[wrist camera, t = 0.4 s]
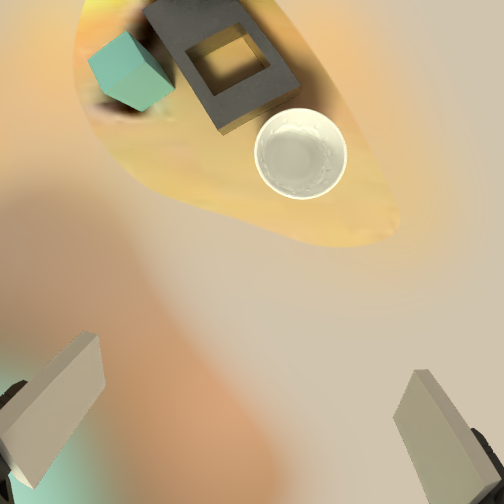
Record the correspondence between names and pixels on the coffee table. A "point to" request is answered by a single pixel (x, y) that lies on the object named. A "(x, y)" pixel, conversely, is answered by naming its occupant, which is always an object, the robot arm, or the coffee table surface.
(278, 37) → the coffee table surface
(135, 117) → the coffee table surface
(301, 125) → the white cup
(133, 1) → the coffee table surface
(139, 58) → the teal block
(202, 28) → the grey slotted board
